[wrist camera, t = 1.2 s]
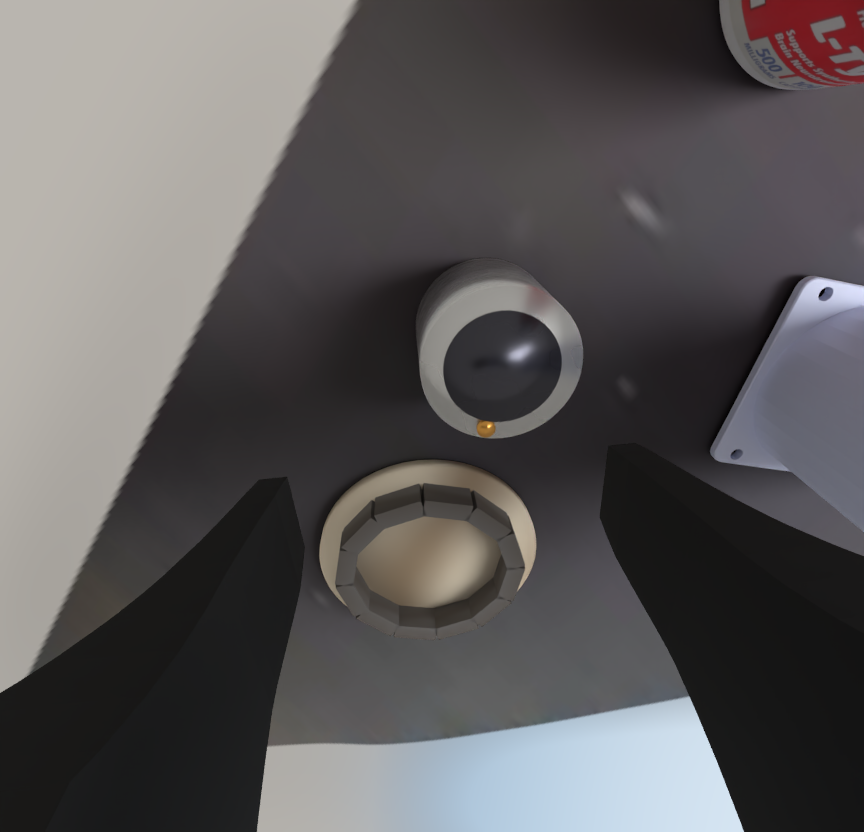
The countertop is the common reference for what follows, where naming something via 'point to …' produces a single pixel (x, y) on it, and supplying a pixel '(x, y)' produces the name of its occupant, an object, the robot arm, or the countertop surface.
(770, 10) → the pill bottle
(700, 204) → the countertop surface
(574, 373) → the lens
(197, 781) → the robot arm
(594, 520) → the countertop surface
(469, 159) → the countertop surface
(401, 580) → the mount
